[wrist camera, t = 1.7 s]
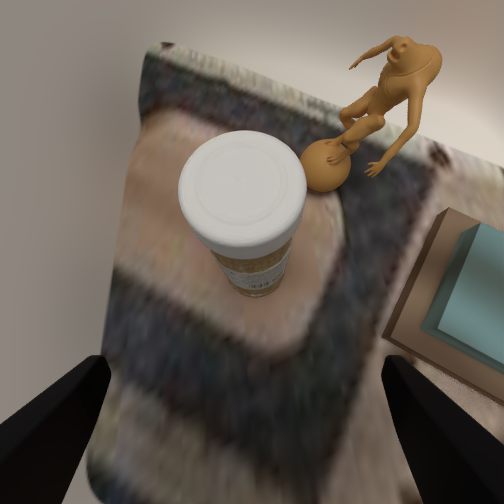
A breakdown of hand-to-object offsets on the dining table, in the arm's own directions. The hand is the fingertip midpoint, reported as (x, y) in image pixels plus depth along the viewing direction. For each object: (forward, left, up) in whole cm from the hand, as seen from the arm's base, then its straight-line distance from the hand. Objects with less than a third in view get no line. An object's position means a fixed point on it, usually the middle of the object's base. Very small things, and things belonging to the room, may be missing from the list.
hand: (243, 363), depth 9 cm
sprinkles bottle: (+6, +1, -12) cm, 14 cm away
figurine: (+15, -4, -12) cm, 20 cm away
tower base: (+6, -16, -12) cm, 21 cm away
